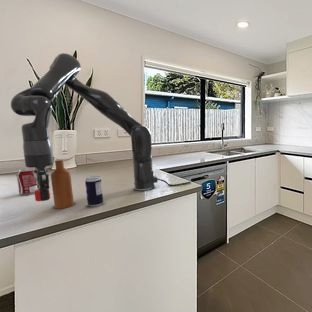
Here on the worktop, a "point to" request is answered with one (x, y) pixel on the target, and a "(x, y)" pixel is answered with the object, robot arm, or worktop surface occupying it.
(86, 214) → the worktop surface
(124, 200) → the worktop surface
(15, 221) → the worktop surface
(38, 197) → the cap
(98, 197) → the beverage can
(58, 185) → the sauce bottle
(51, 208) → the worktop surface
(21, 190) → the red food package
